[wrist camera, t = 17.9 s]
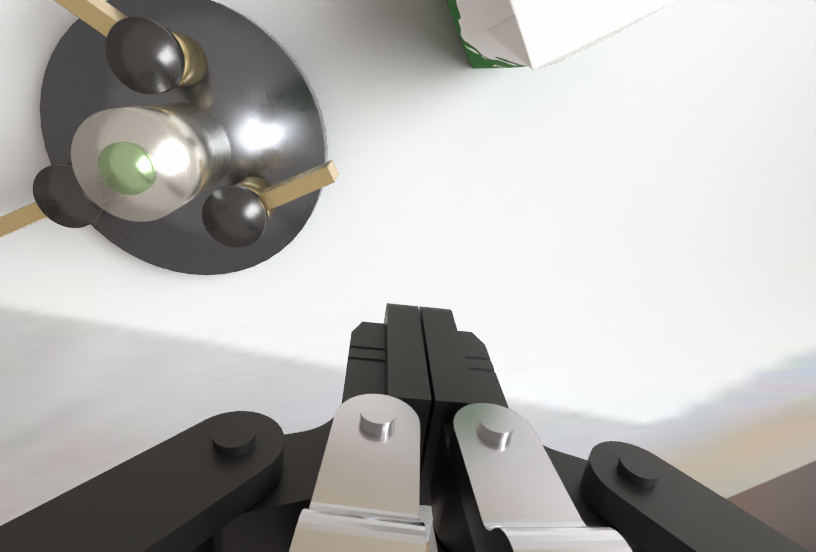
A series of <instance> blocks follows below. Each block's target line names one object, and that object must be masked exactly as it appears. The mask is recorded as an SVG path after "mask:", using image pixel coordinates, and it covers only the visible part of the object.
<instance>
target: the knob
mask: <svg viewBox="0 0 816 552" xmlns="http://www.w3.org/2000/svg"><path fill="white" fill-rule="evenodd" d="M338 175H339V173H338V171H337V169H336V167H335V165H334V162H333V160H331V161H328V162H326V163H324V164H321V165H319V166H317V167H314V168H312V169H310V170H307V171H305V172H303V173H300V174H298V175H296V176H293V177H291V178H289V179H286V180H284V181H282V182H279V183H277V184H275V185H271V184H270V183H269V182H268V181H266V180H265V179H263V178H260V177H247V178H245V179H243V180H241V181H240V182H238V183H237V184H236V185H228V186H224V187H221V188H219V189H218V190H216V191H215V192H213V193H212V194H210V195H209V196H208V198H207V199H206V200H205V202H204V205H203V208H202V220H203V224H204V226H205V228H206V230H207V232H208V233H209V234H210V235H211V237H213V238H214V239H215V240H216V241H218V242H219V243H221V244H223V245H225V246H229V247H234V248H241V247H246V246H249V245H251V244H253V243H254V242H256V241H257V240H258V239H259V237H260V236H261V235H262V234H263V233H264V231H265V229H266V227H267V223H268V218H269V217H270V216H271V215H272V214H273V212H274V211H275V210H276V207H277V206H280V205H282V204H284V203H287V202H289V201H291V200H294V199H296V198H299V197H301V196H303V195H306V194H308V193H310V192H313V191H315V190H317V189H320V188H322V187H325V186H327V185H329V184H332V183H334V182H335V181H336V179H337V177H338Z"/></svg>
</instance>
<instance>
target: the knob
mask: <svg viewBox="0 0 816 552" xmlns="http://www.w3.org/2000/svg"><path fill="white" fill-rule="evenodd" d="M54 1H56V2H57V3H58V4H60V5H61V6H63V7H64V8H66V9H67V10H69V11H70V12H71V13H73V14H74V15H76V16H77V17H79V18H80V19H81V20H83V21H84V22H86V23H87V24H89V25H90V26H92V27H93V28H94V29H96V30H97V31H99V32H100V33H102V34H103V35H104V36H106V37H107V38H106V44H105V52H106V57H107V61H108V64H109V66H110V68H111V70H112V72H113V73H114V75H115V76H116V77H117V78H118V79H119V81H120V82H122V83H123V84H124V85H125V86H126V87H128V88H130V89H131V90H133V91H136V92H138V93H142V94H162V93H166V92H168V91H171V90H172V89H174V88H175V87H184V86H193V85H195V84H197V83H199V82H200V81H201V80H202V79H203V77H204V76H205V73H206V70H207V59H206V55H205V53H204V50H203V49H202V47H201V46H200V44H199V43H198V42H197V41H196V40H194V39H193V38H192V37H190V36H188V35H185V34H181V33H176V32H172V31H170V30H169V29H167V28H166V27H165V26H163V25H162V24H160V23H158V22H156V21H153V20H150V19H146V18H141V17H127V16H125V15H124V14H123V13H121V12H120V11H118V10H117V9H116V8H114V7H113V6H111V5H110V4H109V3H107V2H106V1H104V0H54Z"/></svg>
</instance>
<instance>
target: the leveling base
mask: <svg viewBox="0 0 816 552" xmlns="http://www.w3.org/2000/svg"><path fill="white" fill-rule="evenodd" d="M106 2H107V3H109V4H110V5H111V6H113V7H114V8H116V9H117V10H118V11H120V12H121V13H123V14H124V15H125V16H127V17H141V18H146V19H150V20H153V21H156V22H158V23H160V24H162V25H163V26H165V27H166V28H167V29H169V30H170V31H172V32H176V33H181V34H185V35H188V36H190V37H192V38H193V39H194V40H196V41H197V42H198V43H199V44H200V46H201V47H202V49H203V50H204V53H205V55H206V59H207V70H206V73H205V76H204V77H203V79H202V80H201V81H200V82H199V83H197V84H195V85H193V86H184V87H175V88H174V89H172V90H171V91H168V92H166V93H162V94H142V93H138V92H136V91H133V90H131V89H130V88H128V87H126V86H125V85H124V84H123V83H122V82H120V81H119V79H118V78H117V77H116V76H115V75H114V73H113V72H112V70H111V68H110V66H109V64H108V61H107V57H106V52H105V44H106V38H107V37H106V36H104V35H103V34H102V33H100V32H99V31H97V30H96V29H94V28H93V27H92V26H90V25H89V24H87V23H86V22H84V21H83V20H81V19H80V18H79V19H78V20H77V21H76V22H75V23H74V24H73V25H72V26H71V27H70V28H69V29H68V31H67V32H66V33H65V34H64V35H63V37H62V38H61V39H60V41H59V43H58V44H57V46H56V48H55V50H54V51H53V53H52V55H51V58H50V60H49V63H48V66H47V68H46V71H45V75H44V79H43V84H42V89H41V102H40V115H41V128H42V133H43V138H44V143H45V147H46V150H47V153H48V156H49V159H50V162H51V165H56V164H60V163H72V167H73V170H74V173H75V176H76V178H77V180H78V182H79V184H80V186H81V187H82V189H83V190H84V192H85V193H86V194H87V195H88V196H89V198H90V199H91V200H92V201H93V202H94V203H96V204H97V205H98V206H99V207H101V208H102V209H103V210H105V211H106V212H105V214H104V215H103V216H102V217H101V218H100V219H99V220H97V221H95V222H93V223H91V225H92V226H93V227H94V228H95V229H96V230H98V231H99V232H100V233H101V234H102V235H104V236H105V237H106V238H107V239H108V240H109V241H111V242H112V243H114V244H115V245H117V246H118V247H120V248H121V249H123V250H124V251H126V252H128V253H129V254H131V255H133V256H135V257H137V258H139V259H141V260H143V261H145V262H148V263H150V264H153V265H155V266H158V267H161V268H165V269H168V270H171V271H176V272H181V273H187V274H198V275H215V274H226V273H231V272H237V271H241V270H244V269H247V268H250V267H253V266H255V265H257V264H259V263H262V262H264V261H266V260H268V259H269V258H271V257H272V256H274V255H275V254H277V253H278V252H280V251H281V250H282V249H283V248H285V247H286V246H287V245H288V244H289V243H290V242H291V241H292V240H293V239H294V238H295V237H296V236H297V234H298V233H299V232H300V231H301V230H302V228H303V227H304V225H305V224H306V222H307V220H308V219H309V217H310V216H311V214H312V212H313V210H314V208H315V206H316V204H317V202H318V199H319V197H320V195H321V191H322V188H323V187H322V188H320V189H317V190H315V191H313V192H310V193H308V194H306V195H303V196H301V197H299V198H296V199H294V200H291V201H289V202H287V203H284V204H282V205H280V206H277V207H276V210H275V211H274V212H273V214H272V215H271V216H270V217H269V218H268V223H267V227H266V229H265V231H264V233H263V234H262V235H261V236H260V237H259V239H258V240H257V241H256V242H254V243H253V244H251V245H249V246H246V247H241V248H234V247H229V246H225V245H223V244H221V243H219V242H218V241H216V240H215V239H214V238H213V237H211V235H210V234H209V233H208V232H207V230H206V228H205V226H204V224H203V220H202V208H203V205H204V202H205V200H206V199H207V198H208V196H209V195H210V194H212V193H213V192H215V191H216V190H218V189H219V188H221V187H224V186H228V185H236V184H237V183H238V182H240V181H241V180H243V179H245V178H247V177H260V178H263V179H265V180H266V181H268V182H269V183H270V184H271V185H275V184H277V183H279V182H282V181H284V180H286V179H289V178H291V177H293V176H296V175H298V174H300V173H303V172H305V171H307V170H310V169H312V168H314V167H317V166H319V165H321V164H324V163H326V162H327V139H326V130H325V126H324V121H323V117H322V113H321V110H320V107H319V104H318V102H317V99H316V96H315V94H314V92H313V90H312V88H311V86H310V84H309V82H308V80H307V78H306V76H305V75H304V73H303V72H302V70H301V69H300V67H299V66H298V64H297V63H296V61H295V60H294V59H293V58H292V56H291V55H290V54H289V53H288V52H287V51H286V50H285V48H284V47H283V46H282V45H281V44H280V43H279V42H278V41H277V40H276V39H275V38H274V37H272V36H271V35H270V34H269V33H268V32H267V31H266V30H264V29H263V28H262V27H260V26H259V25H257V24H256V23H255V22H253V21H252V20H250V19H249V18H247V17H245V16H243V15H242V14H240V13H238V12H236V11H234V10H232V9H230V8H228V7H226V6H224V5H221V4H219V3H216V2H214V1H211V0H108V1H106Z"/></svg>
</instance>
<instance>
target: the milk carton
mask: <svg viewBox="0 0 816 552" xmlns="http://www.w3.org/2000/svg"><path fill="white" fill-rule="evenodd" d="M675 1H677V0H447V3H448V6H449V9H450V12H451V15H452V18H453V20H454V23H455V26H456V29H457V32H458V34H459V37H460V40H461V42H462V44H463V47H464V49H465V51H466V54H467V56H468V58H469V61H470V63H471V66H472V68H512V67H525V66H529V67H530V68H532V69H533V70H534V69H536V68H540V67H543V66H547V65H551V64H554V63H557V62H559V61H561V60H563V59H565V58H567V57H569V56H571V55H573V54H576V53H578V52H580V51H582V50H584V49H586V48H588V47H590V46H592V45H594V44H596V43H598V42H600V41H602V40H605V39H607V38H608V37H610V36H612V35H614V34H616V33H618V32H620V31H622V30H623V29H625V28H627V27H629V26H631V25H633V24H634V23H636V22H638V21H640V20H642V19H644V18H645V17H647V16H649V15H651V14H653V13H655V12H657V11H658V10H660V9H662V8H664V7H666V6H668V5H670V4H671V3H673V2H675Z"/></svg>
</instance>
